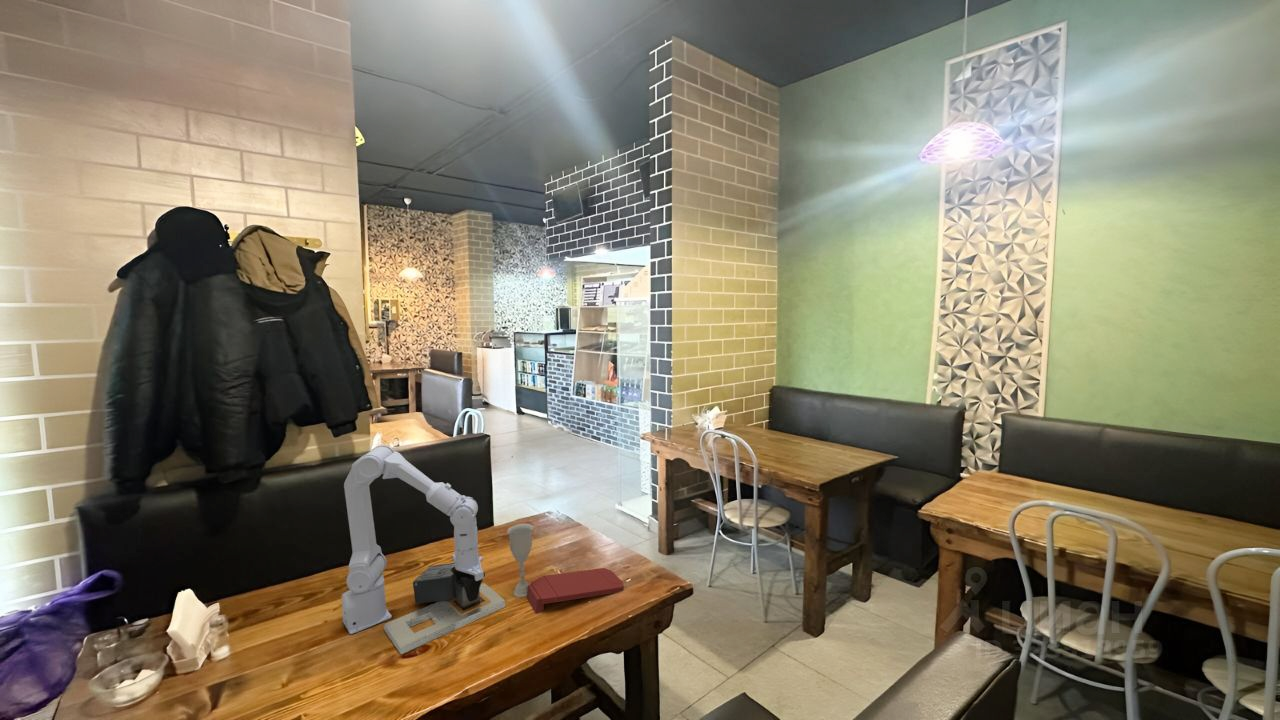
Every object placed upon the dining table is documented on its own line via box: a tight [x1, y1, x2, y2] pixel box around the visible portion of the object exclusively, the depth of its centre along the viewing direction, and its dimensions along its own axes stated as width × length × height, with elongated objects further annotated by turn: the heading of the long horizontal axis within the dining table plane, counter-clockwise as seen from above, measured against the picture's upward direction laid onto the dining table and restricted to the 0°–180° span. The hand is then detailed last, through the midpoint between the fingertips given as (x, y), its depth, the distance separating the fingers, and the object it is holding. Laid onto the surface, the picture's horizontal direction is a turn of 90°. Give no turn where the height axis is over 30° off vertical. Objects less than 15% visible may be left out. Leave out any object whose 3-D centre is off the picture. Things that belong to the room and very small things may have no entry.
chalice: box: [507, 523, 534, 598], centre depth 135 cm, size 7×7×18 cm
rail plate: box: [383, 582, 506, 655], centre depth 125 cm, size 26×12×2 cm, turn 133°
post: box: [455, 579, 480, 611], centre depth 128 cm, size 4×4×7 cm
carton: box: [526, 567, 624, 615], centre depth 135 cm, size 12×5×25 cm
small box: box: [412, 562, 456, 605], centre depth 134 cm, size 11×6×10 cm
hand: (469, 596), depth 128 cm, fingers closed on post, 4 cm apart
